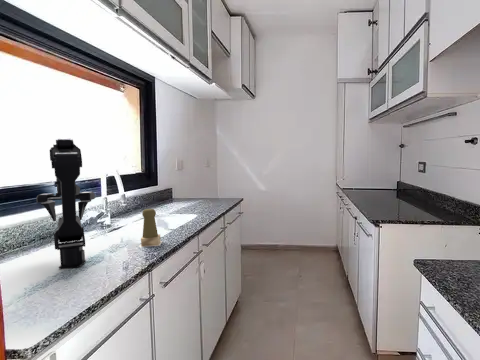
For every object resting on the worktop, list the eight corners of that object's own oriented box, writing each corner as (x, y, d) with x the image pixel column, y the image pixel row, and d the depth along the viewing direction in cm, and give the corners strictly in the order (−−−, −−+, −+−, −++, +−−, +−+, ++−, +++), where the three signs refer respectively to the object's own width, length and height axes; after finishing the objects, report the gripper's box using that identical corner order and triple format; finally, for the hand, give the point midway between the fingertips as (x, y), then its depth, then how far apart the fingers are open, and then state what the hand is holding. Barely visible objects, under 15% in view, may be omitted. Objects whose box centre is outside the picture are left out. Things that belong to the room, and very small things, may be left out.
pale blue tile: (127, 250, 140) (127, 248, 140) (133, 243, 151) (133, 241, 151) (159, 248, 140) (159, 246, 140) (163, 241, 151) (163, 240, 151)
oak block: (141, 246, 142) (140, 238, 142) (144, 242, 149) (144, 235, 148) (158, 245, 143) (157, 237, 142) (160, 241, 149) (160, 234, 149)
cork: (149, 238, 141) (147, 210, 140) (139, 237, 145) (137, 209, 144) (161, 235, 146) (159, 208, 145) (151, 234, 150) (149, 207, 149)
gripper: (98, 176, 142) (100, 215, 143) (48, 178, 140) (51, 218, 141) (88, 177, 131) (91, 220, 132) (34, 179, 129) (37, 223, 130)
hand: (67, 220), depth 134 cm, fingers open, 9 cm apart
